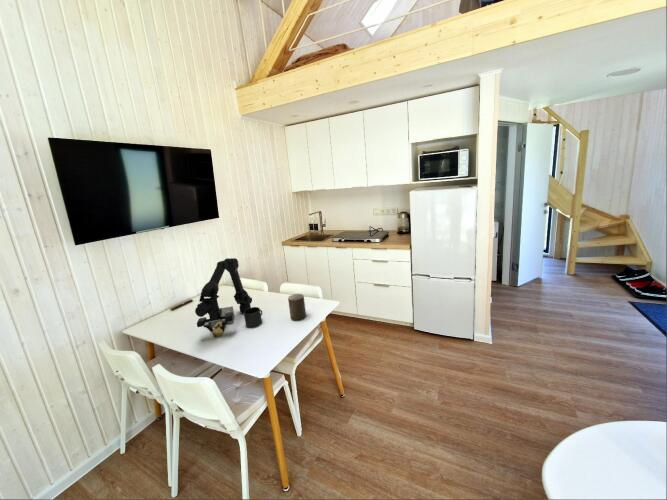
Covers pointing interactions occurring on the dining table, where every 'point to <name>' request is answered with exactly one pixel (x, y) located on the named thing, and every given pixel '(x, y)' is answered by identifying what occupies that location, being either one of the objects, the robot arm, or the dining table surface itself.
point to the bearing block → (224, 311)
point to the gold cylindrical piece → (218, 329)
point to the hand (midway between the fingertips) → (218, 333)
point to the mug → (253, 317)
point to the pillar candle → (297, 307)
